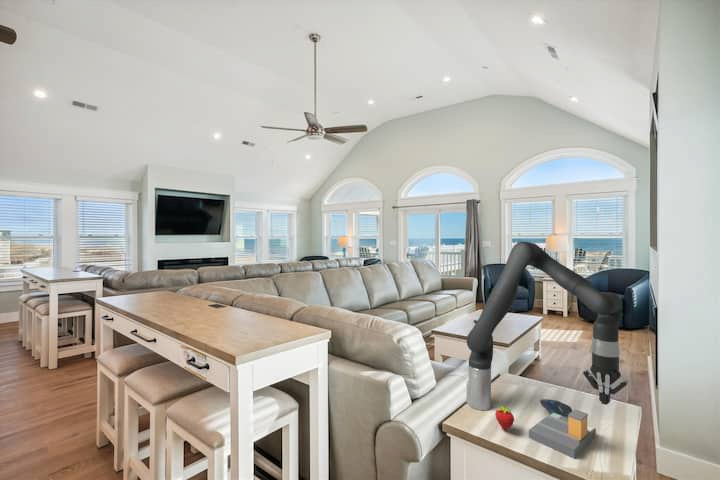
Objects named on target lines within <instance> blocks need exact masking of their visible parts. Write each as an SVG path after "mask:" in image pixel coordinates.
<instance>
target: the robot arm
mask: <svg viewBox="0 0 720 480" xmlns="http://www.w3.org/2000/svg"><path fill="white" fill-rule="evenodd" d="M528 266H531V267H533V268H535V269H538V270H539V271H541V272H543V273H544V274H546V275H548V276H549V277H550V278H551V279H552V280H553V281H554V282H555V283H556V284H557V285H559V286H560V287H561V288H562V289H563V290H566V291H567V292H568V293H570V294H571V295H573V296H575V297H576V298H578V299H579V301H580V302H581V303H582V304H583V305H585V306H586V307H587V308H588V309H589V310H591V311H592V312H594V313H595V314H597V317H596V319H595V321H593V326H592V342H591V366H590V369H586V370H584V371H583V376H584V377H585V378H586V380H587V381H588V382H589V384H590V386H591V387H592V388H593V389H594V390H597V391H598V400H599V402H600V403H601V404H602V405H606V406H607V405H608V404H610V402H611V395H615V394H617V393H618V392H620V391H621V390H623V388H625V387H626V386H627V385H629V381H628V380H627V379H626V380H625V379H624V378H623V377H622V374H621V372H620V353H621V351H620V345H619V325H620V321H621V317H622V311H623V303H622V299H621V297H620V296H619V295H617V294H616V293H614V292H612V291H611V292H610V291H605V292H601V291H600V290H598V289H596V288H595V287H594V284H593V282H591V281H590V280H588V278H586V277H584V276H582V275H581V274H579V273H577V272H576V271H574V270H572V269H570V268H569V267H567V266H565V265H563V264H562V263H560V262H559V261H557V260H556V259H554V258H553V257H552V256H551V255H550V254H549V253H547V252H546V251H545V250H543V248H541V247H540V246H539V245H538V244H536V243H534V242H529V241H518V242H517V243H516V244H514V246H512V248H511V251H510V252H509V255H508V258H507V261H506V263H505V266H504V268H503V270H502V272H501V274H500V276H499V277H498V278H497V281H496V283H495V285H494V287H493V289H492V291H491V292H490V294H489V296H488V298H487V300H486V303H485V304H484V307H483V309H482V311H481V314H480V315H479V318H478V319H477V321H476V323H475V324H474V326H473V327H472V329H471V330H470V332H469V333H468V334H467V336H466V346H467V347H468V350H470V351H471V353H470V355H469V358H468V380H467V381H466V395H465V396H466V399H465V400H466V402H465V403H466V404H468V406H469V407H470V408H473V409H475V410H479V411H486V410H487V411H488V410H490V409H491V407H492V405H491V404H492V362H493V356H494V355H493V354H494V338H493V337H494V336H493V333H494V331H495V330H496V328H497V326H498V325H499V324H500V323H501V322H502V320H503V319H504V318H505V317H506V315H507V314H508V312H509V311H510V310H511V308H512V306H513V305H514V302H515V300H516V299H517V296H518V295H517V294H518V289H519V282H520V279H521V277H522V274H523V273H524V271H525V269H526V268H527V267H528ZM616 381H618V382H617V384H618V385H616V386H615V387H614V388H612V386H613V384H614V383H615V382H616Z"/></svg>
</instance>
